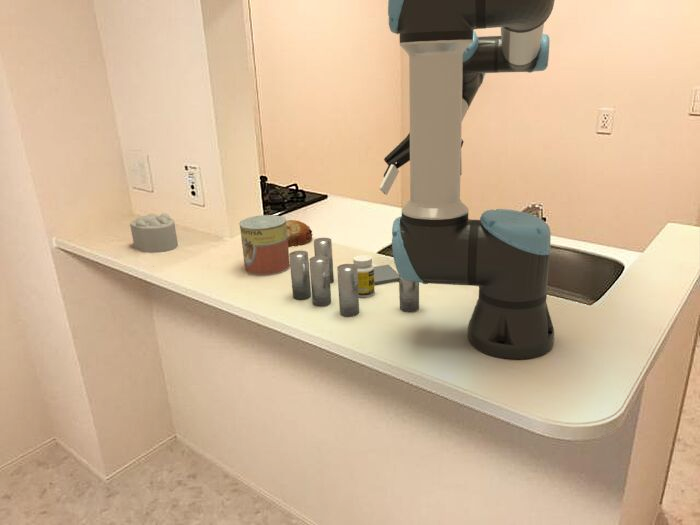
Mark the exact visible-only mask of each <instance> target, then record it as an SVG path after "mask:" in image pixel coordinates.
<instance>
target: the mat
mask: <svg viewBox="0 0 700 525" xmlns="http://www.w3.org/2000/svg"><path fill="white" fill-rule="evenodd" d="M373 267H374V286H379V285H384V284H385V285H386V284H390V283H395V282H399V273H398V271H397V270H395V269H394V268H393V267H392V265H390V264H384V265H377V266H373Z"/></svg>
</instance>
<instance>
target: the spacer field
mask: <svg viewBox="0 0 700 525" xmlns="http://www.w3.org/2000/svg"><path fill="white" fill-rule="evenodd" d="M332 245H333V243H332V238H330V237H318V238H315V239H314V240H313V249H314V250H313V251H314V256H312V257H310V258H309V252H308V251H306V250H294V251H291V252H290V253H289V263H290V268H289V269H290V279H291V289H292V299H294V300H296V301H305V300H306V301H307V300H309V299H310V298H311V300H312V305H313V306H314V307H319V308H324V307H328V306H330V305H331V304H332V291H331V284H333V283H334V282H335V277H334V276H335V275H334V261H333V259H334V258H333V246H332ZM336 268H337V269H336V272H337V273H336V274H337V284H338V285H337V287H338V288H337V289H338V302H339V303H338V304H339V305H338V306H339V315H340V316H342V317H345V318H352V317H356V316H358V315H359V314H360V299H359V298H360V297H359V294H358V272H357V266H356V265H354V263H342V264H340V265H338V266H337V267H336ZM398 283H399V284H398V287H399V288H398V290H399V292H398V293H399V296H398V298H399V310H400V311H401V312H403V313H408V314H409V313H415V312H418V311H419V310H420V283H419V282H410V281H406V280H404V279H403V278H402V277H401V276H400V275H399V281H398Z"/></svg>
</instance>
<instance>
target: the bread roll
mask: <svg viewBox="0 0 700 525" xmlns="http://www.w3.org/2000/svg"><path fill="white" fill-rule="evenodd" d="M286 229H287V240H288V248H293V247H292V246H294V247H299V246H298V245H300V246H304V245H306V243H307V244H309V243H310V242H311V241H312V239H313V238H312V237H313V230H312V229H311V227H310V226H309V225H307V224H306V223H305V222H302V221H300V220H296V219H294V220H293V219H288V220H287V219H286ZM308 242H309V243H308Z"/></svg>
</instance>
